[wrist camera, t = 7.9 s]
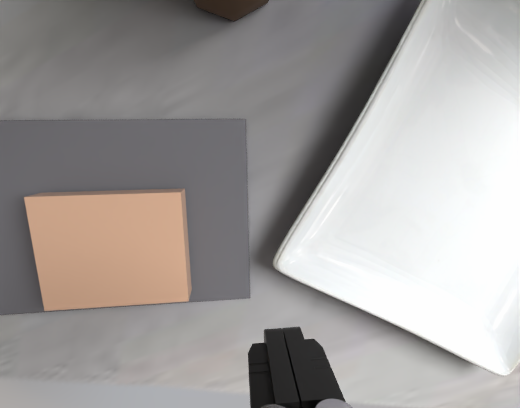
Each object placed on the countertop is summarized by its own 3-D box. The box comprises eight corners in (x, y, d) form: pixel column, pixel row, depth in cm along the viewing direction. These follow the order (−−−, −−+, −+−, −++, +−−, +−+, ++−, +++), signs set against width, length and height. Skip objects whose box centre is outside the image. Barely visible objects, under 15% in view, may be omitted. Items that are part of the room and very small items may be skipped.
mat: (245, 119, 24) (245, 118, 24) (249, 295, 27) (250, 298, 27) (-45, 121, 22) (-51, 120, 22) (-3, 312, 25) (-8, 315, 25)
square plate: (421, -28, 24) (458, -61, 20) (635, 136, 29) (697, 135, 25) (263, 253, 27) (269, 271, 23) (478, 356, 32) (512, 385, 28)
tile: (180, 192, 22) (23, 197, 21) (188, 301, 24) (44, 311, 23) (185, 187, 24) (45, 191, 23) (192, 286, 26) (62, 294, 25)
